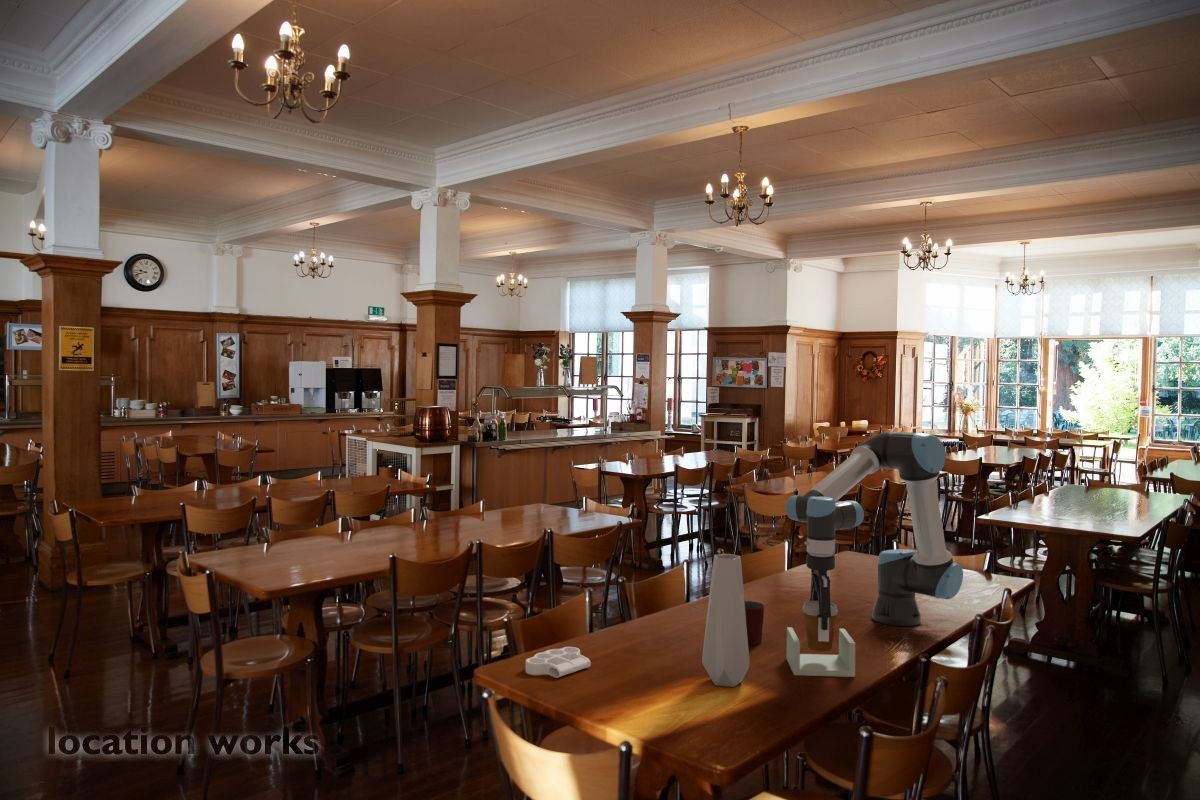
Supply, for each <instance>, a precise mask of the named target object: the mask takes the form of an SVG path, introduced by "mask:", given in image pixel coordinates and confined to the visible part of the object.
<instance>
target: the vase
mask: <svg viewBox="0 0 1200 800" xmlns="http://www.w3.org/2000/svg"><path fill="white" fill-rule="evenodd" d="M708 595H709V596H708V603H707V612H706V619H705V621H706V622H705V630H704V631H705V632H704V638H703V647H702V656H701V657H702V659H701V663H702V665H703V667H704V668H705V671H706V672H707V674H708V676H709V677H710V679H711V681H712V683H713V684H714V685H715V686H718V687H728V688H735V687H737V686H738V685H739V684H741V683H742V681H743V680H744V678H745V676H746V674H747V672H748V669H749V668H750V653H749V645H748V638H747V627H746V615H745V603H744V601H745V594H744V579H743V571H742V558H741V556H740V555H736V554H732V553H731V554H730V553H720V554H714V555H713V562H712V570H711V578H710V588H709V594H708Z"/></svg>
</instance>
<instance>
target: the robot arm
mask: <svg viewBox="0 0 1200 800" xmlns="http://www.w3.org/2000/svg"><path fill="white" fill-rule="evenodd" d="M945 461H946V449H945V446H944V444H943V442H942V441H941V440H940V438H938V437H937V436H936V435H934V434H931V433H926V432H925V433H924V432H909V431H907V432H906V431H905V432H904V431H884V432H881V433H877V434H875V435H873V436H871V437H870V438H867V439H866V440H864V441H863V442H861V443H860V444H859V445H857V446H856V447H855V448H854V449H853V450H852V451H851V453H850V456H849V457H848V458H846V459H845V460H843V462H842V463H841V464H839V465H837V467H836V468H834V469H833V470H832V471H830V472H829V473H828V474H827V475H826V476H825V477H823V478H822V479H821V480H820V481H819V482H817V484H815V485H814V486H812V488H810V489H809V490H808V491H807V492H806V493H804V494H803V495H800V494H797V495H795V494H794V495H791V496H789V497H788V499H787V500H786V503H785V513H786V515H787V517H788V518H789V519H790V520H792V521H797V522H800V523H806V540H805V541H804V545H806V552H807V554H806V561H805V563H806V567H807V568H808V569H809V570H810V572H811V577H810V580H811V581H810V594H809V595H810V596H809V601H818V603H819V615H817V618H818V641H825V642H829V617H831V604H830V602H831V579H830V577H829V576H828V573H827V572H829V571H833V570H834V569H835V568H836V567H835V565H836V556H835V553H836V531H838V530H846V529H852V528H855V527H858V526H860V525H861V524H862V523H863V521H864V519H865V511H864V508H863V507H862V505H861V504H860V503H859V502H857V501H856V500H844V501H841V500H840V499H841V498H842V497H843V496H844V495H845V494H847V493H848V492H849V491H850V490H851V489H853V488H854V487H855V486H856V485H857V484H858V483H859V482H861V481H862V480H863V479H864V478H865V477H866V476H867V475H872V474H875V473H876V472H877V471H879V470H881V469H893V470H894V469H895V470H898V474H899V479H900V480H902V481H903V482H904V483H905V485H906V491H907V497H908V498H907V499H908V505H909V511H910V516H911V522H912V529H913V535H914V540H915V547H916V550H914V549H908V548H903V549H902V548H900V549H899V548H897V549H887V550H882V551H880V552H879V555H878V560H877V597H876V599H875V602H874V606H873V608H872V611H871V615H872V616H871V618H872V619H873V621H876V622H877V623H881V624H884V625H888V626H897V627H913V626H919V625H920V624H921V622H922V617H921V616H922V615H921V611H920V609H919V605H918V603H917V599H916V594H917V595H918V594H919V595H924V596H926V597H927V596H928V597H933V598H935V599H942V600H951V599H953V598H955V596H956V595H958V593H959V591H960V590H961V587H962V586H963V585H962V584H963V581H964V580H963V579H964V569H963V566H961V565H960V564H959V563H957V562H954V559H953V554H952V553H951V551H949V550H948V549H947V546H946V542H945V534H944V529H943V527H944V526H943V522H942V521H943V520H942V514H941V508H940V501H939V494H938V487H937V482H936V479H937V478H938V477H939V476H940V474H941V473H940V472H941V471H942V470H943V469H944V466H945V464H946V462H945ZM825 612H827V613H825Z"/></svg>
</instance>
